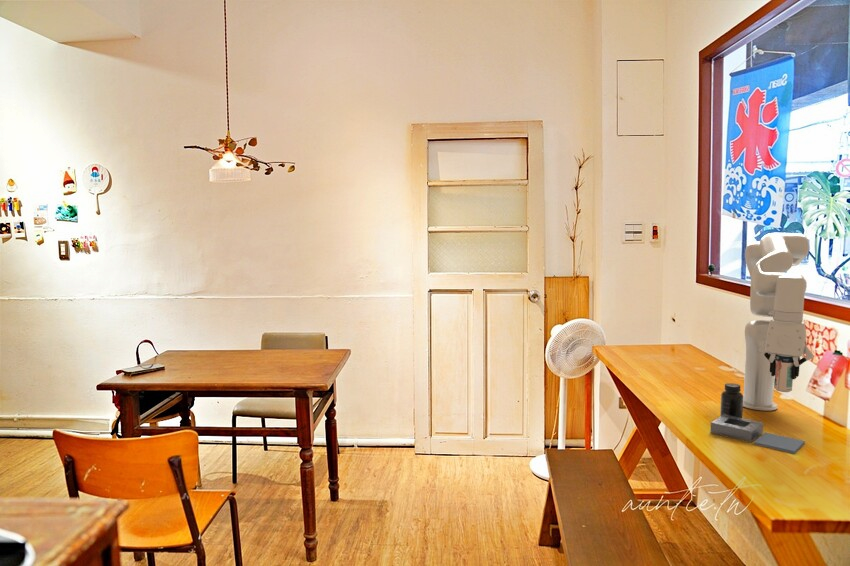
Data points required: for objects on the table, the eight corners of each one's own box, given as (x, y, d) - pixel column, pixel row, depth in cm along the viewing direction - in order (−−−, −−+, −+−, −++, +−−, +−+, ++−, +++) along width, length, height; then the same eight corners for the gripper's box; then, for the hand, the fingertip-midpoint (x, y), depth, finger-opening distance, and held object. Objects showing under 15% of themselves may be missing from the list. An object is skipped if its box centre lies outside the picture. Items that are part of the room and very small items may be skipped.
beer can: (775, 387, 191) (778, 349, 190) (793, 390, 188) (796, 351, 187) (772, 390, 188) (774, 351, 187) (790, 393, 185) (793, 354, 184)
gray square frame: (723, 424, 207) (723, 414, 207) (762, 433, 199) (763, 422, 199) (710, 433, 199) (710, 422, 198) (751, 442, 191) (751, 431, 190)
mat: (765, 434, 198) (765, 432, 198) (804, 443, 190) (804, 440, 190) (753, 444, 189) (753, 441, 189) (794, 453, 182) (794, 451, 182)
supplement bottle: (730, 415, 218) (732, 381, 216) (746, 421, 211) (749, 386, 210) (715, 417, 215) (717, 383, 214) (731, 423, 209) (733, 388, 208)
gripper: (753, 315, 189) (749, 374, 191) (818, 322, 177) (813, 384, 179) (760, 312, 194) (756, 369, 196) (824, 319, 183) (819, 379, 185)
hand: (783, 376), depth 188 cm, fingers closed on beer can, 4 cm apart
